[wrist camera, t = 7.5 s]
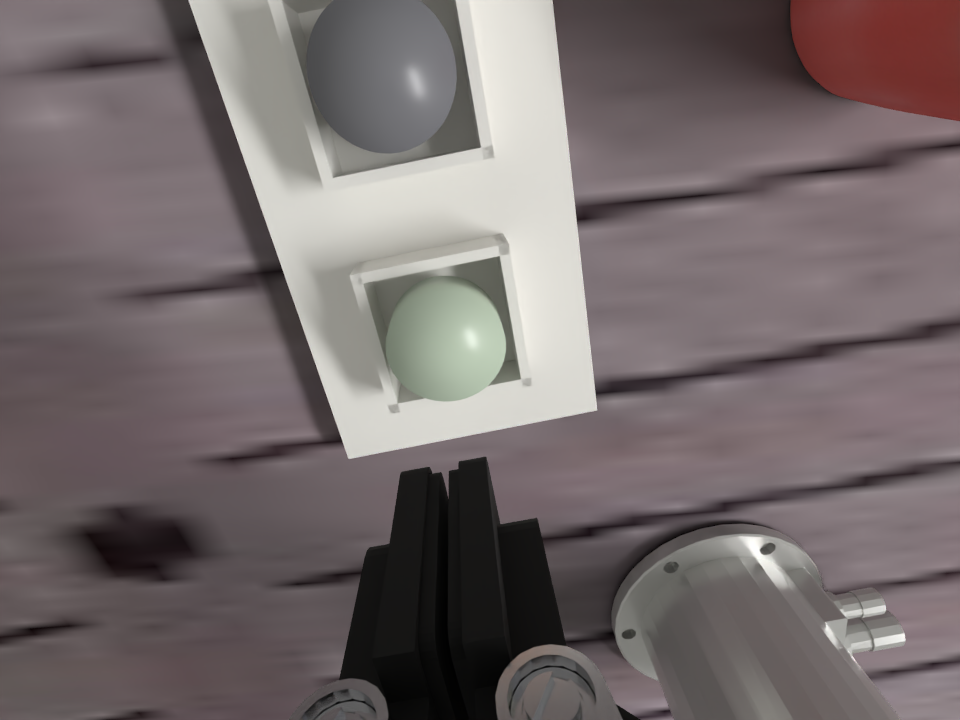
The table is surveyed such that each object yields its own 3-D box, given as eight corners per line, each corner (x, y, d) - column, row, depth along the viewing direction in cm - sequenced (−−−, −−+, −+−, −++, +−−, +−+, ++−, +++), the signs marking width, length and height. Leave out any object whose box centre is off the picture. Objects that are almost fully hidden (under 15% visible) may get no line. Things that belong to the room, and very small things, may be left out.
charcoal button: (439, -13, 16) (439, -31, 15) (466, 137, 18) (469, 138, 16) (302, 16, 17) (284, 2, 15) (343, 162, 18) (332, 166, 16)
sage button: (490, 265, 20) (494, 279, 18) (508, 367, 22) (514, 389, 20) (377, 288, 20) (371, 303, 18) (405, 387, 22) (402, 411, 20)
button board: (476, -586, 14) (486, -799, 11) (589, 395, 26) (609, 432, 23) (38, -487, 14) (-80, -666, 11) (353, 441, 26) (341, 485, 23)
